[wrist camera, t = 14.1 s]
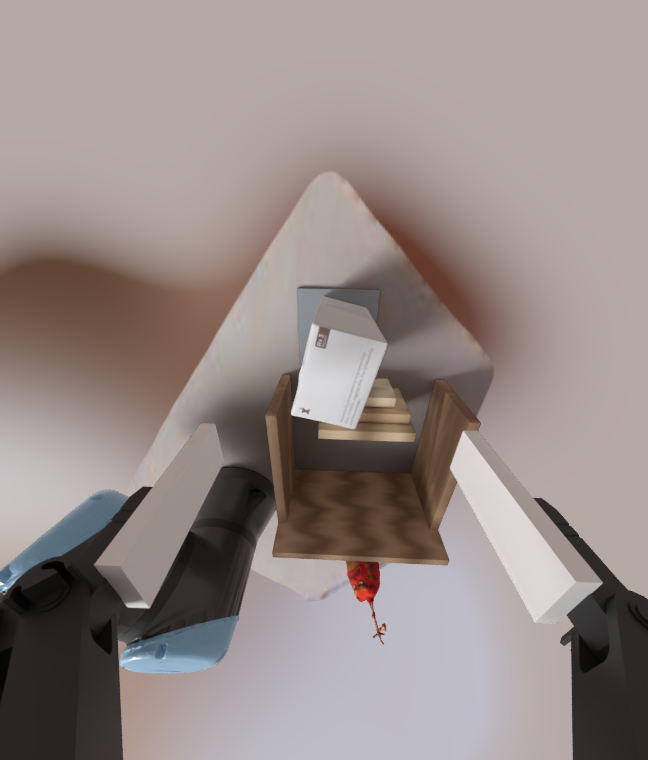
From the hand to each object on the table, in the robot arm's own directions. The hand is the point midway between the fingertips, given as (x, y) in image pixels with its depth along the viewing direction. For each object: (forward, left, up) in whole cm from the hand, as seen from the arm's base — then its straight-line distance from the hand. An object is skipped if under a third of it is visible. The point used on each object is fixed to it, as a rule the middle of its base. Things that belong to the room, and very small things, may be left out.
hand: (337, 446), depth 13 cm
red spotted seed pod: (+8, -53, -22) cm, 58 cm away
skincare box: (0, 0, -21) cm, 21 cm away
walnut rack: (+4, -18, -21) cm, 28 cm away
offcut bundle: (+4, -9, -22) cm, 24 cm away
